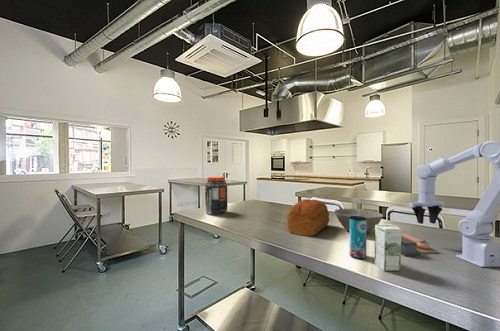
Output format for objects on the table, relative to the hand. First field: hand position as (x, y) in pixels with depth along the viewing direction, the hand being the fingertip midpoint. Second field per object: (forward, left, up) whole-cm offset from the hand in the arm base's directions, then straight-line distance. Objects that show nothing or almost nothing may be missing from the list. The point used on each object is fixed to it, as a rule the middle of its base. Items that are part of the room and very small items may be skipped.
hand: (426, 223), depth 102 cm
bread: (+28, +43, -10) cm, 53 cm away
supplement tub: (+72, +97, -10) cm, 121 cm away
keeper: (-8, +16, -9) cm, 20 cm away
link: (-1, +7, -8) cm, 11 cm away
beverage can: (-10, +37, -10) cm, 39 cm away
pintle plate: (-6, +7, -9) cm, 13 cm away
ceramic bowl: (+21, +20, -10) cm, 30 cm away
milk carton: (-20, +32, -10) cm, 39 cm away
